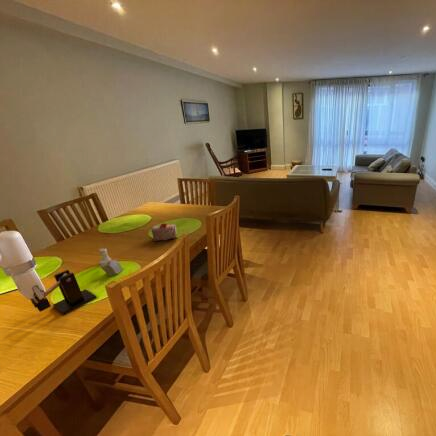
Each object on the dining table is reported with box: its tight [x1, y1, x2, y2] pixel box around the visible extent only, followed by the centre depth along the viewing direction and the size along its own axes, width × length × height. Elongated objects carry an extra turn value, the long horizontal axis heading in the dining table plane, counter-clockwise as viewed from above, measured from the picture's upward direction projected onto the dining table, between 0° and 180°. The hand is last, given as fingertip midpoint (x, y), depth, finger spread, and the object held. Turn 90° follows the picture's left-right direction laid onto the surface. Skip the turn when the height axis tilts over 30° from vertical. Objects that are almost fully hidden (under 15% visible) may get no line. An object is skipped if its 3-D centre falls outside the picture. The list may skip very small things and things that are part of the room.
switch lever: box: [31, 273, 68, 306], centre depth 91 cm, size 13×3×3 cm, turn 151°
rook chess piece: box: [98, 247, 112, 261], centre depth 124 cm, size 4×4×8 cm
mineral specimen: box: [98, 259, 123, 277], centre depth 115 cm, size 7×9×8 cm
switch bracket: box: [52, 269, 97, 316], centre depth 95 cm, size 11×9×14 cm
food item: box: [151, 222, 178, 242], centre depth 150 cm, size 14×8×10 cm, turn 108°
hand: (43, 306), depth 89 cm, fingers closed on switch lever, 3 cm apart
